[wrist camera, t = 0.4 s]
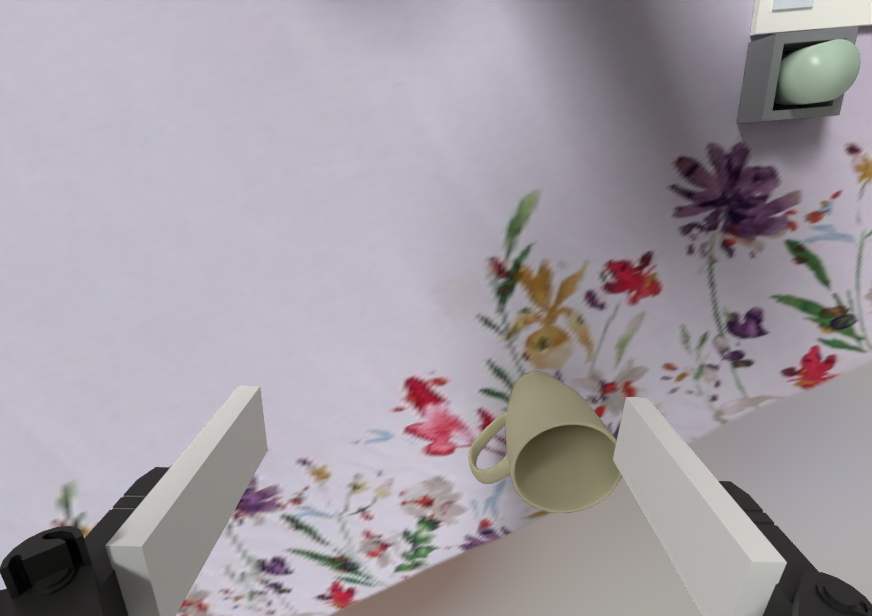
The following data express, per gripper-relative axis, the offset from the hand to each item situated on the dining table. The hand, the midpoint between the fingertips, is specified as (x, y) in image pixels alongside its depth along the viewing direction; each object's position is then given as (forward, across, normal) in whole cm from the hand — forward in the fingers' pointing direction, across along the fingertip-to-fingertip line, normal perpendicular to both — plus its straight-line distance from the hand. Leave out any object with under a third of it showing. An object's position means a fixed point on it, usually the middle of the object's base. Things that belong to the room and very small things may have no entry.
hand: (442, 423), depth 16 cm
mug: (+27, +10, -15) cm, 32 cm away
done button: (+25, +28, +16) cm, 41 cm away
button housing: (+27, +28, +16) cm, 42 cm away
